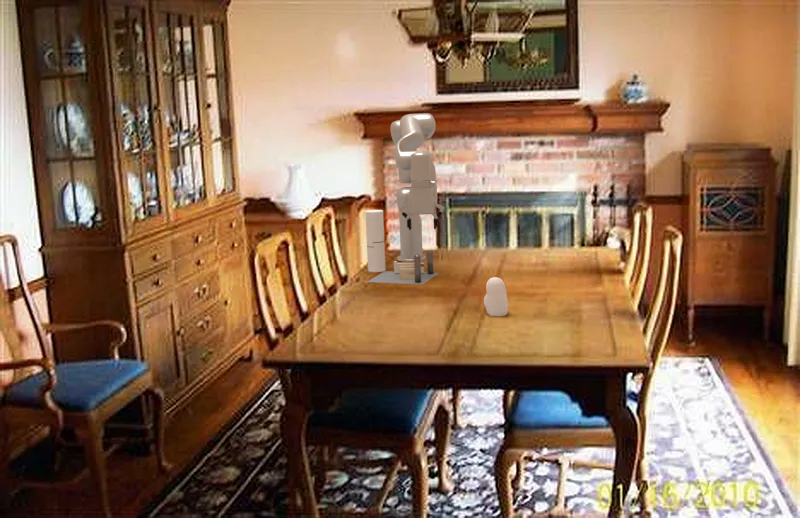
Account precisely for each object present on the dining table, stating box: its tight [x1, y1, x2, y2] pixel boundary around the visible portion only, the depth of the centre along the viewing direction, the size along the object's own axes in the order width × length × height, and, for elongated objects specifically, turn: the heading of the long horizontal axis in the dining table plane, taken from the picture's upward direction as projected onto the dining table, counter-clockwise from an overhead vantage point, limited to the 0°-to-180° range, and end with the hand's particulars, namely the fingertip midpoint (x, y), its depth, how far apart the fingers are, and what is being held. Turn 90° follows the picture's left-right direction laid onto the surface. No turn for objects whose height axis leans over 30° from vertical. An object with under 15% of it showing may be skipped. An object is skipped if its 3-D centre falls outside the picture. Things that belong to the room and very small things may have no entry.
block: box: [400, 266, 415, 279], centre depth 358 cm, size 6×6×4 cm
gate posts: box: [413, 250, 435, 283], centre depth 355 cm, size 19×3×11 cm, turn 161°
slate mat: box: [366, 270, 440, 285], centre depth 359 cm, size 21×23×1 cm
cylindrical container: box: [364, 209, 386, 273], centre depth 372 cm, size 7×7×25 cm
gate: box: [393, 260, 425, 273], centre depth 365 cm, size 12×2×5 cm, turn 81°
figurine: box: [483, 276, 509, 317], centre depth 299 cm, size 7×8×12 cm
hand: (422, 229), depth 353 cm, fingers open, 9 cm apart
